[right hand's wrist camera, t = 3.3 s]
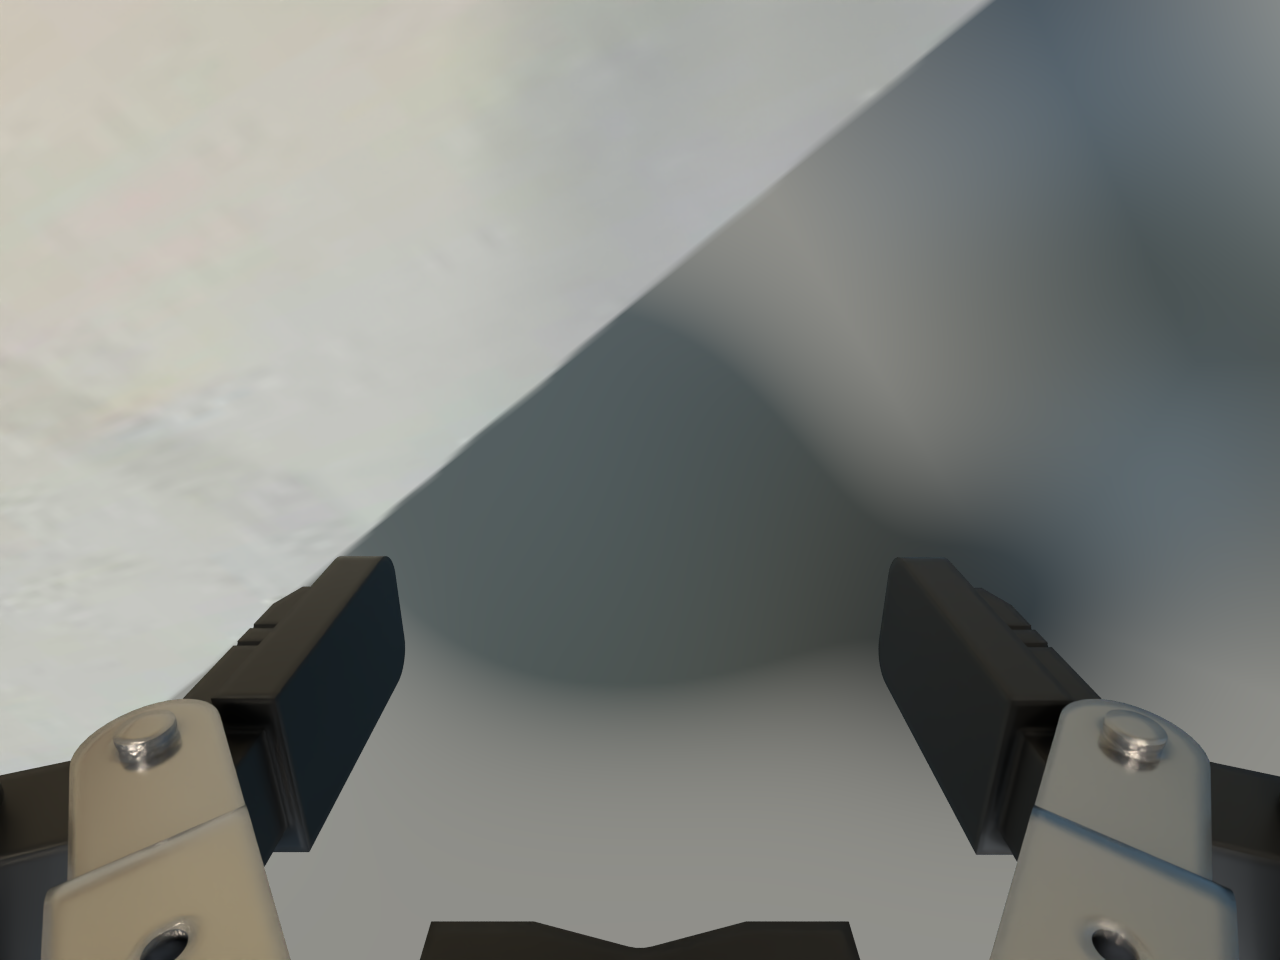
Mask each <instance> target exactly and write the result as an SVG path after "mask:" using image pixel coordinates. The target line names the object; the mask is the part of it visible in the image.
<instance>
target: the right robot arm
mask: <svg viewBox="0 0 1280 960" xmlns="http://www.w3.org/2000/svg"><path fill="white" fill-rule="evenodd" d="M404 657H405V640H404V632H403V625H402V618H401V611H400V604H399V597H398V590H397V583H396V575H395V569H394V566H393V563H392V561H391V559H390V558H389V557H387V556H340V557H337V558H336V559H335V560H334V561H333V562H332V563H331V565H330V566H329V567H328V568H327V569H326V570H325V571H324V572H323V573H322V575H321V576H320V577H319V578H318V579H317V580H316V581H315V582H314V583H313V585H312V586H311V587H301V588H300V589H298V590H296V591H295V592H293V593H291V594H289V595H288V596H286V597H284V598H283V599H281V600H279V601H277V602H276V603H274V604H273V605H272V606H271V607H270V608H269V609H268V610H267V611H266V612H265V613H264V614H263V615H262V616H261V617H260V618H259V619H258V620H257V621H256V622H255V623H254V628H250V629H249V630H248V631H247V632H246V633H245V634H244V635H243V636H242V637H241V638H240V639H239V640H238V644H237V646H233V647H232V648H231V649H230V650H229V651H228V652H227V653H226V654H225V655H224V656H223V657H222V658H221V659H220V660H219V661H218V662H217V663H216V664H215V665H214V666H213V668H212V669H211V670H210V671H209V672H208V673H207V674H206V675H205V676H204V677H203V678H202V679H201V680H200V681H199V682H198V683H197V684H196V685H195V686H194V687H193V689H192V690H191V691H190V692H189V693H188V694H187V695H186V696H185V697H184V698H183V699H176V700H168V701H164V702H159V703H155V704H151V705H148V706H144V707H142V708H139V709H136V710H134V711H131V712H129V713H127V714H124V715H122V716H120V717H118V718H116V719H115V720H113V721H111V722H109V723H107V724H106V725H104V726H103V727H101V728H100V729H98V730H97V731H96V732H94V733H93V734H92V735H91V736H89V737H88V738H87V739H86V740H85V741H84V742H83V743H82V744H81V745H80V746H79V748H78V749H77V750H76V752H75V753H74V755H73V757H72V759H71V761H67V762H62V763H58V764H53V765H48V766H43V767H39V768H34V769H29V770H24V771H19V772H15V773H10V774H5V775H0V960H291V959H290V956H289V952H288V949H287V945H286V942H285V938H284V935H283V931H282V928H281V924H280V921H279V917H278V914H277V910H276V907H275V903H274V900H273V896H272V893H271V889H270V886H269V882H268V879H267V875H266V872H265V868H264V867H265V865H266V863H267V861H268V860H269V858H270V856H271V854H272V853H273V852H309V851H310V850H311V848H312V846H313V844H314V842H315V840H316V838H317V836H318V834H319V832H320V830H321V828H322V827H323V825H324V823H325V821H326V819H327V817H328V815H329V813H330V811H331V809H332V807H333V806H334V804H335V802H336V800H337V798H338V796H339V794H340V792H341V790H342V788H343V786H344V785H345V782H346V781H347V779H348V777H349V775H350V773H351V771H352V769H353V767H354V765H355V763H356V762H357V760H358V758H359V756H360V754H361V752H362V750H363V748H364V746H365V744H366V742H367V740H368V739H369V737H370V735H371V733H372V731H373V729H374V727H375V725H376V723H377V721H378V719H379V718H380V716H381V714H382V712H383V710H384V708H385V706H386V704H387V702H388V700H389V698H390V696H391V695H392V693H393V691H394V689H395V687H396V685H397V683H398V681H399V679H400V676H401V673H402V669H403V665H404ZM879 662H880V668H881V672H882V676H883V678H884V681H885V683H886V685H887V687H888V689H889V691H890V693H891V694H892V696H893V698H894V700H895V702H896V704H897V706H898V708H899V710H900V712H901V713H902V715H903V717H904V719H905V721H906V723H907V725H908V727H909V728H910V730H911V732H912V734H913V736H914V738H915V740H916V742H917V744H918V746H919V747H920V749H921V751H922V753H923V755H924V757H925V759H926V761H927V763H928V764H929V766H930V768H931V770H932V772H933V774H934V776H935V778H936V779H937V781H938V783H939V785H940V787H941V789H942V791H943V793H944V795H945V797H946V798H947V800H948V802H949V804H950V806H951V808H952V810H953V812H954V814H955V815H956V817H957V819H958V821H959V823H960V825H961V827H962V829H963V831H964V832H965V834H966V836H967V838H968V840H969V842H970V844H971V846H972V848H973V849H974V851H975V853H976V854H977V855H1013V856H1014V857H1015V859H1016V861H1017V865H1016V868H1015V872H1014V875H1013V879H1012V882H1011V886H1010V889H1009V893H1008V896H1007V900H1006V903H1005V907H1004V910H1003V914H1002V917H1001V921H1000V924H999V928H998V931H997V935H996V938H995V942H994V945H993V949H992V952H991V956H990V959H989V960H1280V777H1279V776H1275V775H1270V774H1265V773H1260V772H1256V771H1251V770H1246V769H1241V768H1236V767H1231V766H1227V765H1222V764H1217V763H1213V762H1209V759H1208V757H1207V755H1206V753H1205V752H1204V750H1203V749H1202V748H1201V746H1200V745H1199V744H1198V743H1197V742H1196V741H1195V740H1194V739H1193V738H1192V737H1191V736H1189V735H1188V734H1187V733H1186V732H1184V731H1183V730H1182V729H1180V728H1179V727H1177V726H1176V725H1174V724H1173V723H1171V722H1169V721H1167V720H1165V719H1164V718H1162V717H1160V716H1158V715H1155V714H1153V713H1151V712H1149V711H1146V710H1144V709H1141V708H1138V707H1135V706H1132V705H1129V704H1125V703H1121V702H1116V701H1112V700H1103V699H1101V698H1100V697H1099V696H1098V695H1097V694H1096V693H1095V692H1094V691H1093V689H1092V688H1091V687H1090V686H1089V685H1088V684H1087V683H1086V682H1085V681H1084V680H1083V679H1082V678H1081V677H1080V676H1079V675H1078V674H1077V673H1076V672H1075V671H1074V670H1073V669H1072V668H1071V667H1070V666H1069V665H1068V664H1067V662H1066V661H1065V660H1064V659H1063V658H1062V657H1061V656H1060V655H1059V654H1058V653H1057V652H1056V651H1055V650H1054V649H1053V648H1052V647H1048V645H1047V642H1046V641H1045V640H1044V639H1043V638H1042V636H1041V635H1040V634H1039V633H1038V632H1037V631H1036V630H1031V625H1030V624H1029V623H1028V622H1027V621H1026V620H1025V619H1024V618H1023V617H1022V616H1021V615H1020V614H1019V613H1018V612H1017V611H1016V609H1015V608H1014V607H1013V606H1012V605H1010V604H1008V603H1007V602H1005V601H1003V600H1001V599H1000V598H998V597H996V596H995V595H993V594H991V593H989V592H988V591H986V590H984V589H982V588H974V587H973V586H972V585H971V584H970V583H969V582H968V581H967V580H966V579H965V578H964V577H963V575H962V574H961V573H960V572H959V571H958V570H957V569H956V568H955V566H954V565H953V564H952V563H951V562H950V561H949V560H948V559H946V558H944V557H897V558H895V559H894V560H893V562H892V564H891V566H890V570H889V575H888V582H887V589H886V596H885V603H884V610H883V617H882V624H881V631H880V638H879ZM420 960H860V958H859V955H858V951H857V948H856V945H855V941H854V938H853V934H852V931H851V928H850V924H849V922H743V923H739V924H735V925H731V926H728V927H724V928H720V929H716V930H713V931H709V932H705V933H701V934H697V935H694V936H690V937H686V938H682V939H679V940H675V941H671V942H667V943H664V944H660V945H656V946H652V947H647V948H633V947H628V946H624V945H620V944H617V943H613V942H609V941H605V940H601V939H598V938H594V937H590V936H586V935H582V934H579V933H575V932H571V931H567V930H564V929H560V928H556V927H552V926H549V925H545V924H541V923H537V922H431V924H430V928H429V931H428V934H427V938H426V941H425V945H424V948H423V951H422V955H421V958H420Z"/></svg>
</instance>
